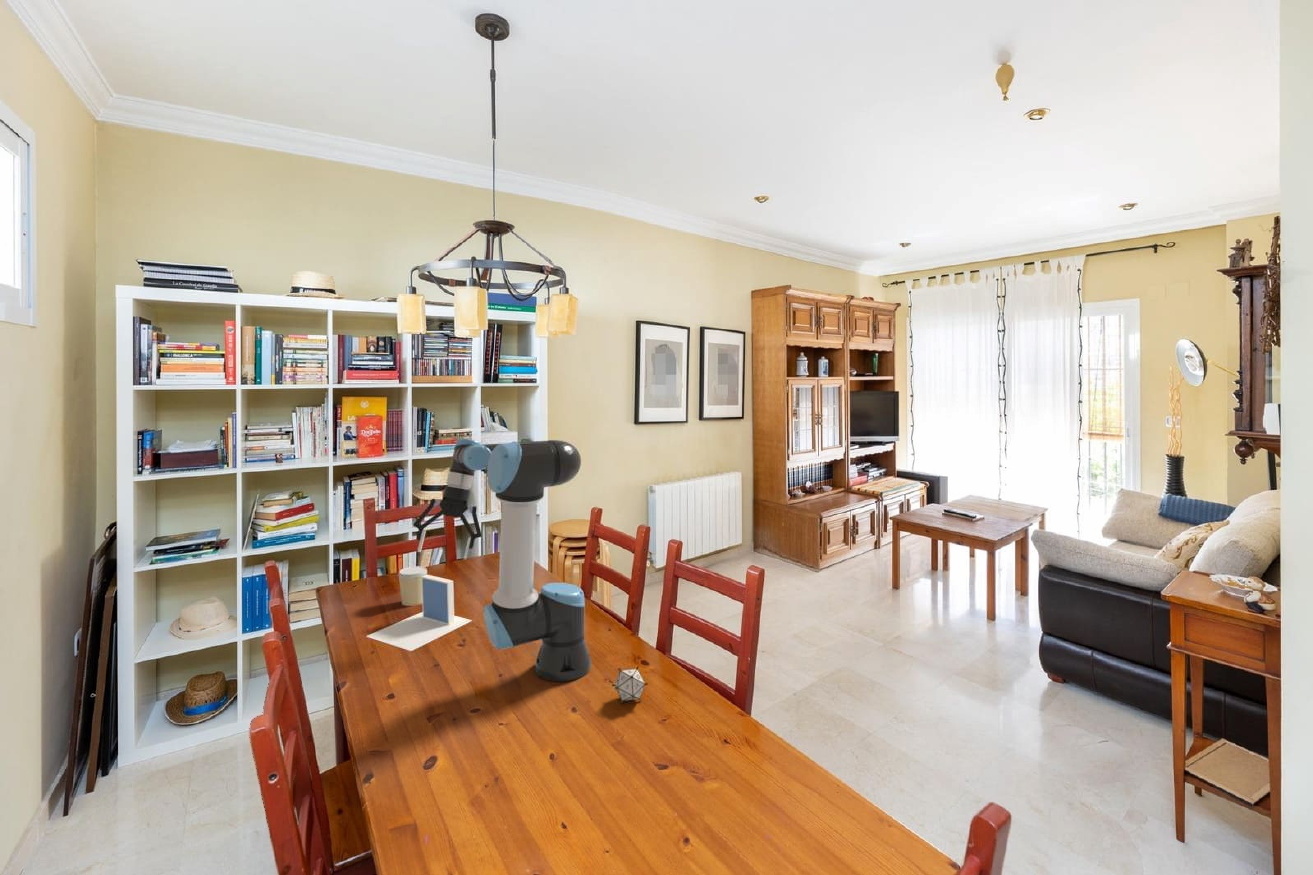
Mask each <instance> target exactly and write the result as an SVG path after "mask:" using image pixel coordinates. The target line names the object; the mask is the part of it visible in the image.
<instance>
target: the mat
mask: <svg viewBox="0 0 1313 875" xmlns="http://www.w3.org/2000/svg"><path fill="white" fill-rule="evenodd" d="M471 622H473V620H472V619H468V618H465V617H462V616H457V615H454V623H452V624H450V625H447V624H444V623H440V622H437V621H433V620H430V619H426V618H423V611H422V612H419V613H417V614H413V615H411V616H410V617H407V618H405V619H403V620H401V621H398V622H396V623H393V624H392V625H388V626H387V627H384V628H382V629H379V630H377V631H375V632H373V633H371V634H368V635H366V636H365V637H366V638H368V639H369V638H370V639H372V640H376V641H379V642H382V643H385V644H387V645H391V646H393V647H396V648H400V649H404V650H406V651H409V652H412V651H414V650H417V649H418V648H421V647H422V646H424V645H427V644H428V643H430V642H432V641H435V640H437V639H439V638H441V637H442V636H445V635H447V634H448V633H451V632H453V631H454V630H457V629H458V628H461V627H462V626H464V625H466V624H468V623H471Z"/></svg>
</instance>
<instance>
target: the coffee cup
mask: <svg viewBox="0 0 1313 875" xmlns="http://www.w3.org/2000/svg"><path fill="white" fill-rule="evenodd" d="M425 575H428V570H427V568H426V567H425V566H419V565H417V566H416V565H415V566H408V567H404V568H401V569H400V570H399V572H398V579H399V589H400V598H401V599H400V600H401V605H402V606H407V607H414V606H418V605H422V576H425Z"/></svg>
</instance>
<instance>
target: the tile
mask: <svg viewBox="0 0 1313 875" xmlns="http://www.w3.org/2000/svg"><path fill="white" fill-rule="evenodd" d="M454 590H455V589H454V580H453V579H452V580H451V579H448V578H443V577H439V576H436V575H435V576H434V575H431V574H427V575H425V576H422V604H421V605H422V612H423V618H426V619H430V620H433V621H437V622H440V623H444V624H447V625H450V624H452V623H454V616H455V602H454V601H455V597H454V596H455V594H454Z"/></svg>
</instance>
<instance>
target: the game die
mask: <svg viewBox="0 0 1313 875" xmlns="http://www.w3.org/2000/svg"><path fill="white" fill-rule="evenodd" d="M639 667H640V665H636V668H630V669H629V668H628V669H621V668H620V667H618V668H617V669H618V671H619V673H618V675H617V677H616V680H615V681H614V683H612V684H611V686H612V687H614V689H615V690H616V692H617V694H618V696H619V698H620V703H622V704H623V702H626V701H633V700H634V701H635V700H638V701H639V700H641V701H642V699H641V696H642V694H643V691H644V688H645V686H648V685H649V683H648V682H645V680H644V678H643V676H642V674H641V672H640V671H639V669H640V668H639ZM620 703H619V704H620Z"/></svg>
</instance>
